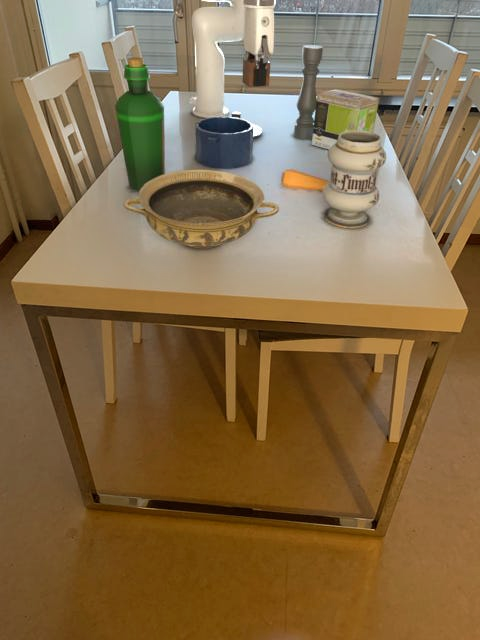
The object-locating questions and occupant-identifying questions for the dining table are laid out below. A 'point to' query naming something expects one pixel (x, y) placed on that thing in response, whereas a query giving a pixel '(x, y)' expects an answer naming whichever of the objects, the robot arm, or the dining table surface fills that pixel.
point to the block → (249, 73)
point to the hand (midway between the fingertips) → (255, 82)
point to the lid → (257, 130)
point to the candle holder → (308, 92)
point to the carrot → (302, 180)
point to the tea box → (342, 115)
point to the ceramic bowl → (201, 206)
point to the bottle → (141, 126)
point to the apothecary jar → (353, 178)
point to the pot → (224, 142)
